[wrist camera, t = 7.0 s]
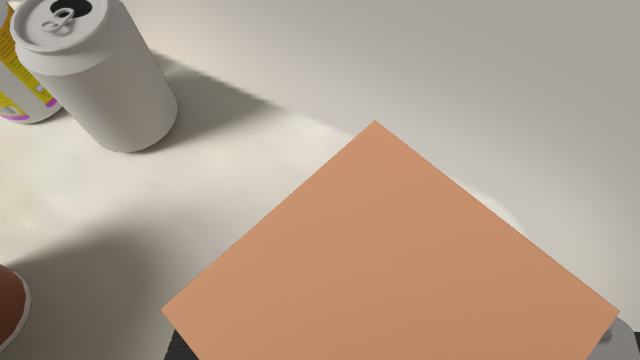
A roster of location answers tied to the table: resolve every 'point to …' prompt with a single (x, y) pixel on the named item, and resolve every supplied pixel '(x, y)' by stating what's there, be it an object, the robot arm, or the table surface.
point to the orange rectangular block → (386, 275)
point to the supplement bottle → (20, 81)
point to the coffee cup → (12, 305)
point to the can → (96, 69)
